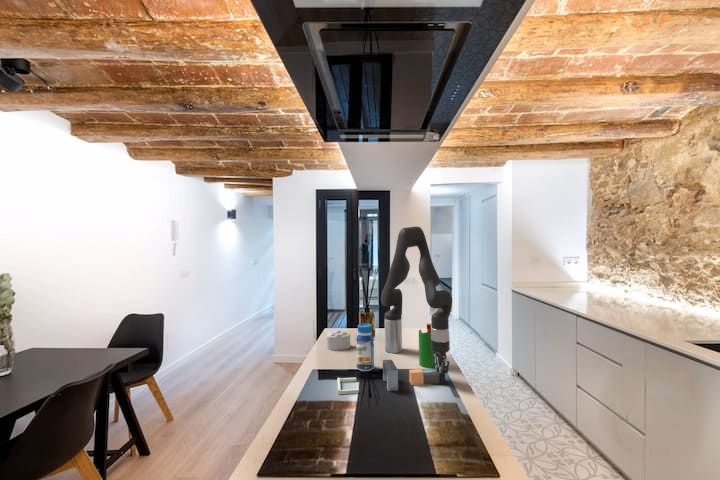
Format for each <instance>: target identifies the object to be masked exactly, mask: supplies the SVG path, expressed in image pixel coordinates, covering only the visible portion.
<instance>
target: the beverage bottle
mask: <svg viewBox="0 0 720 480" xmlns="http://www.w3.org/2000/svg"><path fill="white" fill-rule="evenodd" d="M372 332H373V325H372V324H370V323H359V324H358V325H357V333H358V334H357V336H356V343H355V347H356V368H357V370H359V371H362V372H369V371H372V370H373V369H375V342H374V341H375V338H374V337H373V334H372Z"/></svg>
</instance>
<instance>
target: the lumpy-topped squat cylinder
mask: <svg viewBox="0 0 720 480" xmlns="http://www.w3.org/2000/svg"><path fill="white" fill-rule="evenodd" d="M350 348H351V334H350V333H349V332H347V331H345V330H340V329H337V330H335V331H333V330H331V331H330V332H327V335H326V349H327V350H328V351H343V350H348V349H350Z"/></svg>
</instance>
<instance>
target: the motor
mask: <svg viewBox="0 0 720 480" xmlns="http://www.w3.org/2000/svg"><path fill="white" fill-rule="evenodd" d="M433 352H434V351H433V350H432V349H431V323H426V332H422V329H419V330H418V362H419V363H418V364H419V365H420V366H421V367H422V368H427V369H436V366H435V365H434V358H433Z"/></svg>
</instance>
